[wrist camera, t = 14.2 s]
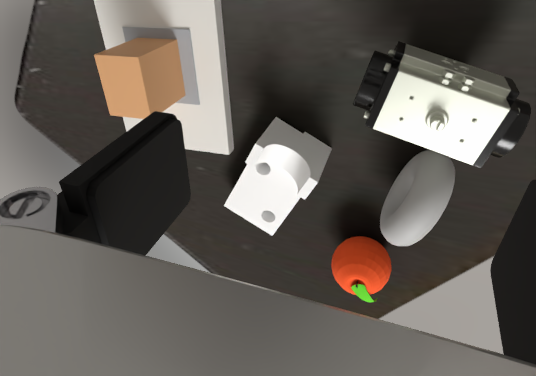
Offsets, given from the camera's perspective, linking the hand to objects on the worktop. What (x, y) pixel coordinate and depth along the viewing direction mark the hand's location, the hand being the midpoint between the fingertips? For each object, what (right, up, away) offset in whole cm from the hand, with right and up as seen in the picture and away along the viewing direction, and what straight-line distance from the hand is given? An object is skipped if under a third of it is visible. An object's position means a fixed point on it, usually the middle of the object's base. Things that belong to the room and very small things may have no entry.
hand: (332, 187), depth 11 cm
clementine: (+11, -8, +39) cm, 41 cm away
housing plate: (-13, +14, +34) cm, 39 cm away
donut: (+14, +2, +31) cm, 34 cm away
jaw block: (-13, +13, +32) cm, 37 cm away
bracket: (0, +2, +37) cm, 37 cm away
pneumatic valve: (+14, +11, +25) cm, 31 cm away
